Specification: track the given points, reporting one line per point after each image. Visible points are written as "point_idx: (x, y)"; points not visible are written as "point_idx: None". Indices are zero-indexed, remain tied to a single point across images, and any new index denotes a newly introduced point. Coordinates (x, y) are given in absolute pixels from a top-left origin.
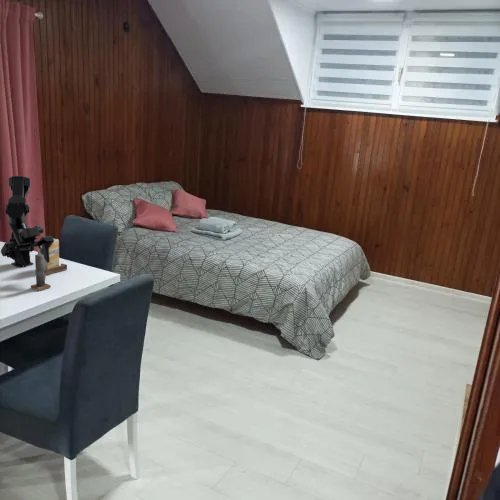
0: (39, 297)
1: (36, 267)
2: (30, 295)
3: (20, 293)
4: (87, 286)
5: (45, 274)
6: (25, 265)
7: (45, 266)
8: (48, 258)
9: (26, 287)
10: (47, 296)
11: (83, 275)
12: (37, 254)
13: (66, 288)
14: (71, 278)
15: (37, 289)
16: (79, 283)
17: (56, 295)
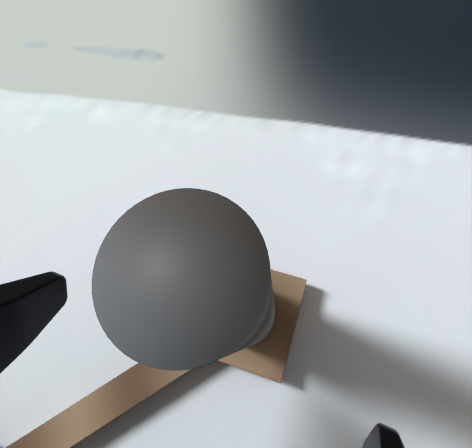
0: (386, 215)
1: (272, 311)
2: (392, 287)
3: (403, 377)
4: (115, 103)
5: (22, 441)
6: (393, 436)
7: None
8: (18, 287)
9: (283, 422)
10: (346, 186)
11: None
12: (136, 355)
13: (185, 174)
14: (19, 251)
15: (301, 298)
16: (86, 162)
17: (306, 154)
